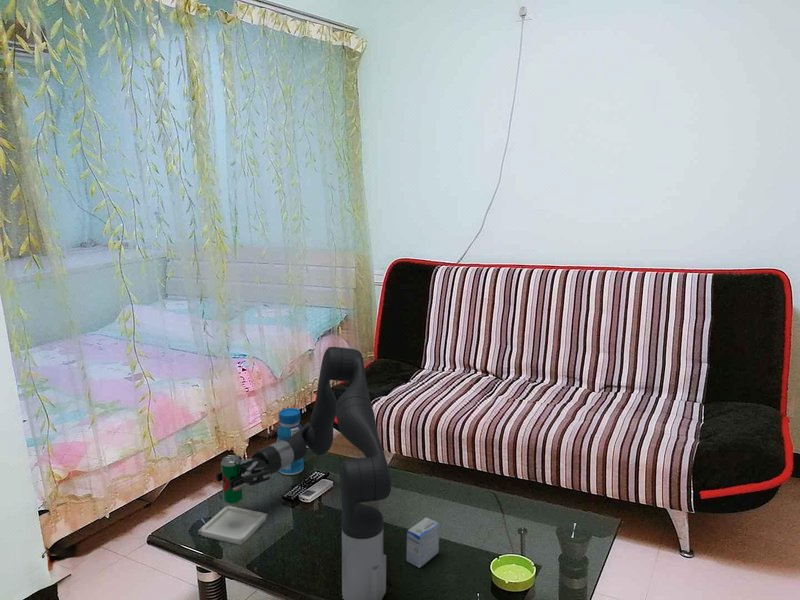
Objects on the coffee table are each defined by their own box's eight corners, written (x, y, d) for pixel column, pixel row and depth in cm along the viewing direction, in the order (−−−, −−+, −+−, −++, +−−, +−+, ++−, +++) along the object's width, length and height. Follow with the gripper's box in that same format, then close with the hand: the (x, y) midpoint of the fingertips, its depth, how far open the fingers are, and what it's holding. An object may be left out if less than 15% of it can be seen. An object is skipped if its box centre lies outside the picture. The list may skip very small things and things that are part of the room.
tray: (267, 518, 166) (267, 513, 166) (241, 545, 154) (241, 540, 154) (227, 510, 170) (226, 505, 170) (198, 535, 158) (198, 530, 158)
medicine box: (425, 546, 154) (425, 516, 153) (439, 553, 152) (440, 522, 150) (405, 561, 148) (406, 530, 147) (420, 569, 146) (420, 536, 144)
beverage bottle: (275, 475, 190) (273, 416, 186) (281, 463, 198) (279, 406, 194) (301, 476, 190) (300, 417, 186) (306, 463, 198) (305, 406, 194)
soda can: (237, 505, 158) (235, 464, 155) (219, 503, 159) (217, 462, 156) (246, 495, 163) (243, 455, 160) (229, 493, 164) (226, 453, 161)
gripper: (257, 438, 174) (206, 460, 161) (290, 453, 165) (239, 477, 152) (258, 462, 175) (208, 485, 162) (291, 477, 167) (241, 503, 154)
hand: (223, 481), depth 157 cm, fingers closed on soda can, 5 cm apart
